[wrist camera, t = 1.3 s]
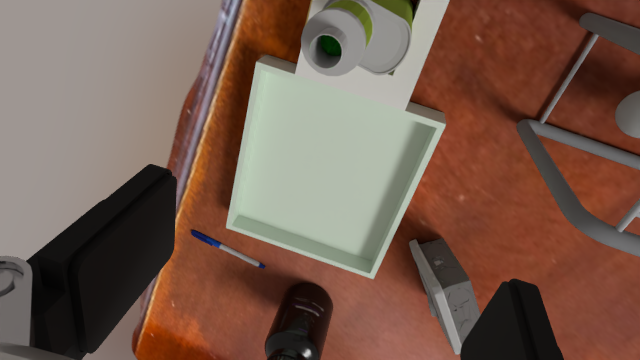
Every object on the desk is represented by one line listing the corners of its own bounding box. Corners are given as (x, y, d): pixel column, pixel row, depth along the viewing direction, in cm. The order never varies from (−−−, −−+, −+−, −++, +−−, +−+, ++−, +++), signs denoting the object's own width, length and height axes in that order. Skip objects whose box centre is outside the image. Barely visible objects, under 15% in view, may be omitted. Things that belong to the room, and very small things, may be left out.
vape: (358, -31, 35) (303, -10, 18) (420, 4, 35) (424, 57, 18) (338, 11, 37) (271, 67, 20) (397, 44, 37) (381, 126, 20)
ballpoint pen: (191, 233, 54) (188, 237, 53) (193, 227, 53) (190, 232, 52) (264, 267, 54) (262, 272, 53) (267, 262, 54) (264, 267, 53)
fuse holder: (342, -97, 33) (333, -103, 29) (466, -58, 32) (473, -59, 28) (304, 61, 39) (292, 73, 36) (406, 94, 39) (404, 110, 35)
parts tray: (266, 54, 40) (256, 61, 37) (444, 112, 39) (446, 124, 37) (235, 213, 50) (225, 227, 48) (375, 262, 50) (373, 279, 47)
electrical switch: (407, 237, 47) (414, 294, 39) (452, 225, 46) (470, 282, 37) (428, 297, 51) (439, 361, 42) (471, 288, 49) (491, 352, 41)
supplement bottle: (325, 278, 52) (302, 358, 42) (340, 316, 55) (322, 400, 45) (276, 283, 55) (244, 360, 44) (293, 320, 57) (266, 400, 47)
